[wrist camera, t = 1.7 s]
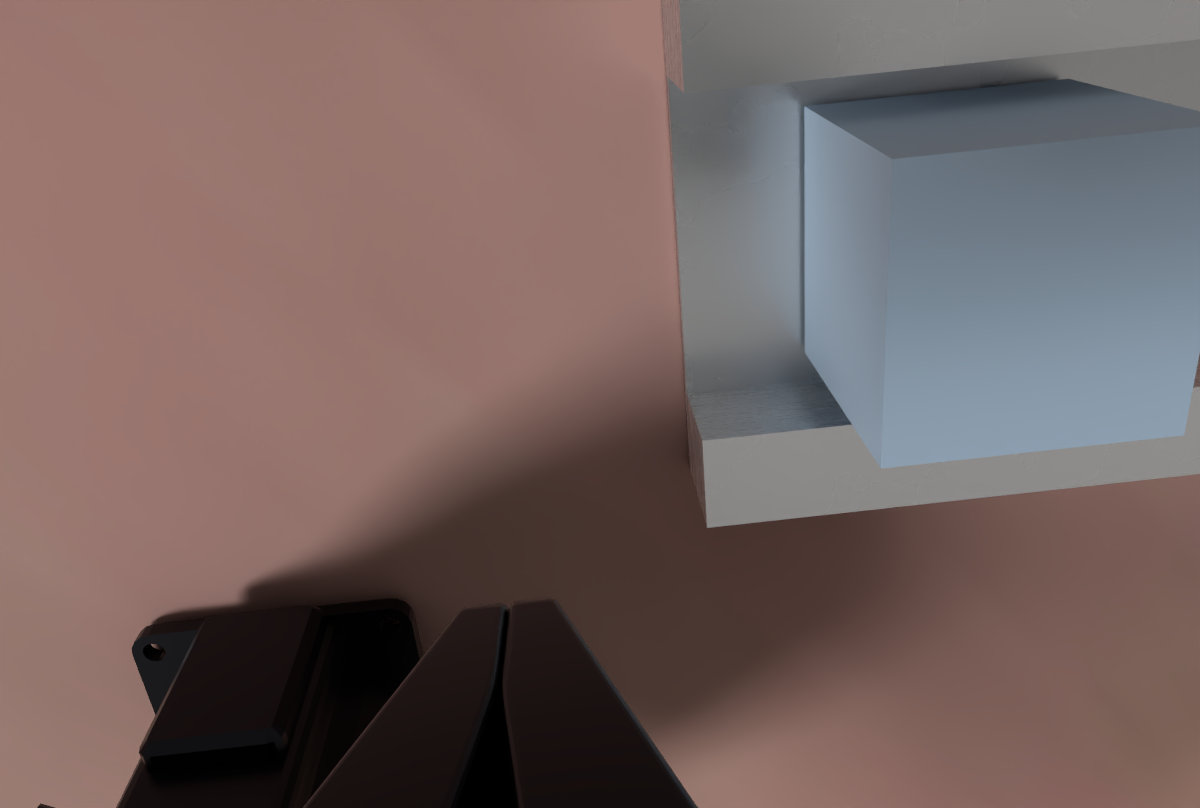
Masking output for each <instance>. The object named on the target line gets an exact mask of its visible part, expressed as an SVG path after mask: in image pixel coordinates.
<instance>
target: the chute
mask: <svg viewBox="0 0 1200 808" xmlns="http://www.w3.org/2000/svg"><path fill="white" fill-rule="evenodd" d="M662 15H663V32H664V49H665V65H666V82H667V99H668V115H669V132H670V149H671V165H672V182H673V199H674V215H675V232H676V249H677V265H678V282H679V299H680V315H681V332H682V349H683V365H684V382H685V399H686V415H687V432H688V449H689V465H690V471H691V474H692V478H693V481H694V485H695V488H696V492H697V495H698V499H699V502H700V505H701V509H702V512H703V516H704V519H705V523H706V526H707V528H711V527H720V526H729V525H738V524H747V523H757V522H766V521H775V520H784V519H793V518H802V517H811V516H820V515H830V514H839V513H848V512H857V511H866V510H875V509H884V508H893V507H902V506H912V505H921V504H930V503H939V502H948V501H957V500H966V499H975V498H984V497H994V496H1003V495H1012V494H1021V493H1030V492H1039V491H1048V490H1057V489H1066V488H1076V487H1085V486H1094V485H1103V484H1112V483H1121V482H1130V481H1139V480H1148V479H1158V478H1167V477H1176V476H1185V475H1194V474H1200V354H1199V359H1198V364H1197V370H1196V375H1195V380H1194V386H1193V391H1192V396H1191V401H1190V407H1189V412H1188V417H1187V423H1186V428H1185V433H1184V435H1183V436H1174V437H1165V438H1156V439H1147V440H1138V441H1128V442H1119V443H1110V444H1101V445H1092V446H1083V447H1073V448H1064V449H1055V450H1046V451H1037V452H1028V453H1019V454H1009V455H1000V456H991V457H982V458H973V459H964V460H954V461H945V462H936V463H927V464H918V465H909V466H899V467H890V468H880V467H879V465H878V463H877V462H876V460H875V459H874V457H873V456H872V454H871V453H870V451H869V450H868V448H867V447H866V445H865V444H864V442H863V441H862V439H861V437H860V436H859V434H858V433H857V431H856V430H855V428H854V427H853V425H852V424H851V422H850V421H849V419H848V418H847V416H846V415H845V413H844V412H843V410H842V408H841V407H840V405H839V404H838V402H837V401H836V399H835V398H834V396H833V395H832V393H831V392H830V390H829V389H828V387H827V386H826V384H825V382H824V381H823V379H822V378H821V376H820V375H819V373H818V372H817V370H816V369H815V367H814V366H813V364H812V363H811V361H810V360H809V358H808V357H807V355H806V353H805V135H804V106H812V105H821V104H831V103H840V102H850V101H859V100H869V99H878V98H888V97H898V96H907V95H917V94H926V93H936V92H945V91H955V90H964V89H974V88H984V87H993V86H1003V85H1012V84H1022V83H1031V82H1041V81H1050V80H1060V79H1072V80H1076V81H1080V82H1084V83H1088V84H1092V85H1096V86H1100V87H1104V88H1108V89H1112V90H1116V91H1120V92H1124V93H1128V94H1132V95H1136V96H1140V97H1144V98H1148V99H1152V100H1156V101H1160V102H1164V103H1168V104H1172V105H1176V106H1180V107H1184V108H1188V109H1192V110H1196V111H1200V0H662Z"/></svg>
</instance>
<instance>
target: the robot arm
mask: <svg viewBox="0 0 1200 808" xmlns="http://www.w3.org/2000/svg"><path fill="white" fill-rule="evenodd" d="M388 617H389V618H395V619H397V620H399V621H400V623H398V624H388V623H387V622H385V621H384V620H383V619H385V618H388ZM151 644H158V645H159V646H161V647H163V649H164V650H158V649H156V648H154V647H152V646H151ZM132 653H133V657H134V660H135V662H136V665H137V667H138V670H139V673H140V675H141V678H142V681H143V683H144V686H145V689H146V691H147V694H148V696H149V699H150V702H151V704H152V707H153V710H154V712H155V715H156V716H155V718H154V720H153V722H152V724H151V726H150V728H149V730H148V732H147V734H146V736H145V738H144V740H143V742H142V744H141V746H140V750H139V754H140V756H141V758H140V760H139V762H138V764H137V766H136V768H135V770H134V772H133V774H132V777H131V779H130V781H129V783H128V785H127V787H126V789H125V791H124V793H123V795H122V797H121V799H120V801H119V803H118V805H117V807H116V808H698V807H697V806H696V804H695V803H694V801H693V800H692V799H691V797H690V796H689V794H688V793H687V791H686V790H685V788H684V787H683V785H682V784H681V782H680V781H679V779H678V778H677V777H676V775H675V774H674V772H673V771H672V769H671V768H670V766H669V765H668V763H667V762H666V760H665V759H664V757H663V756H662V755H661V753H660V752H659V750H658V749H657V747H656V746H655V744H654V743H653V741H652V740H651V738H650V737H649V735H648V734H647V732H646V731H645V730H644V728H643V727H642V725H641V724H640V722H639V721H638V719H637V718H636V716H635V715H634V713H633V712H632V710H631V709H630V708H629V706H628V705H627V703H626V702H625V700H624V699H623V697H622V696H621V694H620V693H619V691H618V690H617V688H616V687H615V686H614V684H613V683H612V681H611V680H610V678H609V677H608V675H607V674H606V672H605V671H604V669H603V668H602V666H601V665H600V664H599V662H598V661H597V659H596V658H595V656H594V655H593V653H592V652H591V650H590V649H589V647H588V646H587V644H586V643H585V642H584V640H583V639H582V637H581V636H580V634H579V633H578V631H577V630H576V628H575V627H574V625H573V624H572V622H571V621H570V620H569V618H568V617H567V615H566V614H565V612H564V611H563V609H562V608H561V606H560V605H559V603H558V602H557V601H556V600H555V599H553V598H541V599H532V600H523V601H516V602H514V603H513V604H511V606H510V608H509V609H508V608H507V606H506V605H504V604H502V603H496V604H487V605H478V606H469V607H464V608H463V609H461V610H460V611H459V612H458V613H457V614H456V615H455V617H454V618H453V619H452V620H451V622H450V623H449V624H448V625H447V627H446V628H445V629H444V631H443V632H442V633H441V634H440V636H439V637H438V638H437V639H436V641H435V642H434V643H433V644H432V646H431V647H430V648H429V649H428V651H427V652H426V653H425V654H424V656H423V653H422V648H421V643H420V639H419V634H418V630H417V625H416V620H415V616H414V612H413V610H412V608H411V607H410V606H409V605H408V604H407V603H406V602H404V601H401V600H399V599H380V600H371V601H362V602H353V603H344V604H335V605H326V606H317V607H314V606H301V607H292V608H283V609H274V610H265V611H256V612H247V613H238V614H229V615H220V616H211V617H208V618H207V619H199V620H189V621H180V622H171V623H162V624H154V625H150V626H147V627H145V628H144V629H143V630H142V631H141V632H140V633H139V635H138V637H137V639H136V640H135V642H134V644H133V647H132ZM38 808H54V807H51V806H47V805H44V804H40V805H39V806H38Z"/></svg>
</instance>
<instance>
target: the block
mask: <svg viewBox="0 0 1200 808" xmlns="http://www.w3.org/2000/svg"><path fill="white" fill-rule="evenodd" d="M804 135H805V353H806V355H807V357H808V358H809V360H810V361H811V363H812V364H813V366H814V367H815V369H816V370H817V372H818V373H819V375H820V376H821V378H822V379H823V381H824V382H825V384H826V386H827V387H828V389H829V390H830V392H831V393H832V395H833V396H834V398H835V399H836V401H837V402H838V404H839V405H840V407H841V408H842V410H843V412H844V413H845V415H846V416H847V418H848V419H849V421H850V422H851V424H852V425H853V427H854V428H855V430H856V431H857V433H858V434H859V436H860V437H861V439H862V441H863V442H864V444H865V445H866V447H867V448H868V450H869V451H870V453H871V454H872V456H873V457H874V459H875V460H876V462H877V463H878V465H879V467H880V468H890V467H899V466H909V465H918V464H927V463H936V462H945V461H954V460H964V459H973V458H982V457H991V456H1000V455H1009V454H1019V453H1028V452H1037V451H1046V450H1055V449H1064V448H1073V447H1083V446H1092V445H1101V444H1110V443H1119V442H1128V441H1138V440H1147V439H1156V438H1165V437H1174V436H1183V435H1184V433H1185V428H1186V423H1187V417H1188V412H1189V407H1190V401H1191V396H1192V391H1193V386H1194V380H1195V375H1196V370H1197V364H1198V359H1199V354H1200V111H1196V110H1192V109H1188V108H1184V107H1180V106H1176V105H1172V104H1168V103H1164V102H1160V101H1156V100H1152V99H1148V98H1144V97H1140V96H1136V95H1132V94H1128V93H1124V92H1120V91H1116V90H1112V89H1108V88H1104V87H1100V86H1096V85H1092V84H1088V83H1084V82H1080V81H1076V80H1072V79H1060V80H1050V81H1041V82H1031V83H1022V84H1012V85H1003V86H993V87H984V88H974V89H964V90H955V91H945V92H936V93H926V94H917V95H907V96H898V97H888V98H878V99H869V100H859V101H850V102H840V103H831V104H821V105H812V106H804Z"/></svg>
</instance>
